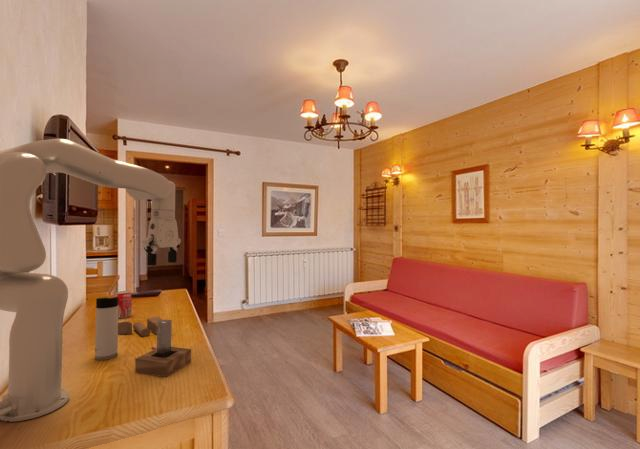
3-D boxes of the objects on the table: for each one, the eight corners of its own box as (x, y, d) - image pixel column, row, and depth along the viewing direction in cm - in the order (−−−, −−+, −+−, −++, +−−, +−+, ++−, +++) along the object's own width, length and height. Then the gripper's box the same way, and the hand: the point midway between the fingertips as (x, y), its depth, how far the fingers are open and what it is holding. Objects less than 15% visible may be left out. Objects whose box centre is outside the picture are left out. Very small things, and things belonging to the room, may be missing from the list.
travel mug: (91, 361, 102) (92, 298, 102) (99, 353, 108) (100, 294, 108) (113, 359, 103) (114, 298, 104) (120, 351, 110) (121, 293, 110)
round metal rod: (164, 370, 96) (165, 323, 96) (153, 368, 97) (154, 322, 97) (173, 364, 100) (174, 320, 100) (163, 363, 101) (163, 319, 101)
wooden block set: (157, 313, 140) (172, 322, 127) (157, 326, 140) (172, 336, 127) (112, 320, 129) (123, 331, 116) (112, 334, 128) (123, 346, 115)
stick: (171, 353, 109) (171, 351, 109) (169, 354, 108) (169, 352, 108) (153, 348, 114) (153, 346, 114) (151, 348, 113) (151, 346, 113)
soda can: (115, 316, 154) (115, 291, 155) (132, 314, 157) (132, 290, 157) (112, 319, 148) (113, 293, 148) (130, 318, 151) (130, 292, 151)
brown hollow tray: (166, 376, 92) (166, 362, 92) (135, 372, 95) (135, 358, 95) (190, 361, 102) (191, 349, 102) (162, 357, 105) (162, 345, 105)
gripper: (153, 214, 103) (152, 267, 103) (188, 216, 120) (187, 261, 120) (134, 214, 105) (133, 266, 105) (171, 216, 122) (171, 261, 122)
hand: (162, 263), depth 112 cm, fingers open, 9 cm apart
